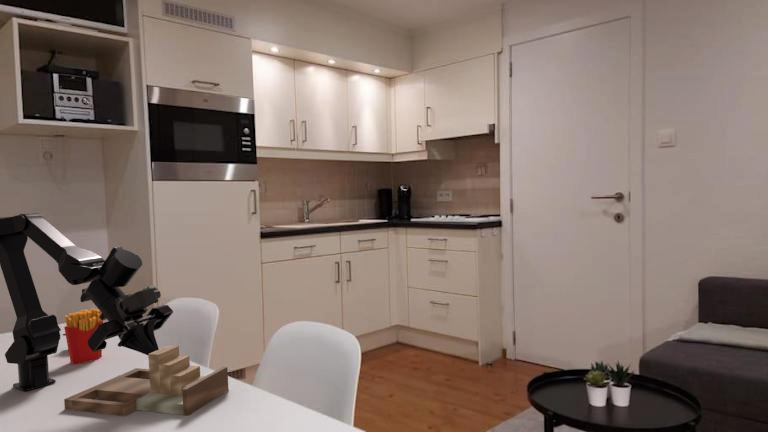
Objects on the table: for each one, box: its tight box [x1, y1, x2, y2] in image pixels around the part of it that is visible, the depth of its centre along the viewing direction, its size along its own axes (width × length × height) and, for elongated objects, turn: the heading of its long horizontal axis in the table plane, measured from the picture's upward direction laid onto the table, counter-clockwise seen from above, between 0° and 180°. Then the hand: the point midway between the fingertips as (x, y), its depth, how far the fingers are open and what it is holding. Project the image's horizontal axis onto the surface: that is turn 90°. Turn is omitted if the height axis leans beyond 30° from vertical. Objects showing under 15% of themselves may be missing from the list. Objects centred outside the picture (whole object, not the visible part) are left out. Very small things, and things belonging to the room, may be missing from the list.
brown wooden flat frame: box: [63, 366, 230, 417], centre depth 110 cm, size 27×19×5 cm
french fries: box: [64, 307, 104, 365], centre depth 139 cm, size 9×4×13 cm, turn 141°
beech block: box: [147, 345, 206, 396], centre depth 108 cm, size 10×6×8 cm, turn 72°
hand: (157, 356), depth 109 cm, fingers closed
